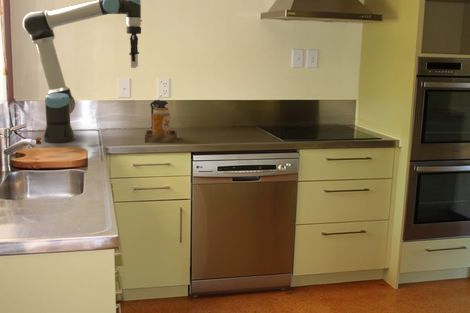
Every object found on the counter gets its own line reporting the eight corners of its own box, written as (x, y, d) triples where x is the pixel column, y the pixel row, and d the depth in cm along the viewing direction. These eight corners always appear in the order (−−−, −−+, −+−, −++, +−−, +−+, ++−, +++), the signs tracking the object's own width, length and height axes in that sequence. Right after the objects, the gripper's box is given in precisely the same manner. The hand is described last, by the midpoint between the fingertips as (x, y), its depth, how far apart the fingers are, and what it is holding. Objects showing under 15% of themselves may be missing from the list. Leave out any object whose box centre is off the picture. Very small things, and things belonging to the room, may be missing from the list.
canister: (161, 140, 278) (161, 101, 274) (146, 137, 285) (145, 99, 280) (173, 138, 285) (173, 99, 281) (158, 135, 292) (157, 98, 287)
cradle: (145, 142, 277) (145, 134, 276) (146, 137, 291) (146, 130, 290) (176, 142, 279) (176, 134, 278) (176, 137, 293) (176, 130, 292)
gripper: (139, 25, 274) (140, 68, 278) (142, 26, 298) (143, 65, 303) (124, 25, 273) (125, 68, 277) (128, 26, 297) (129, 65, 302)
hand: (134, 67), depth 290 cm, fingers open, 13 cm apart
